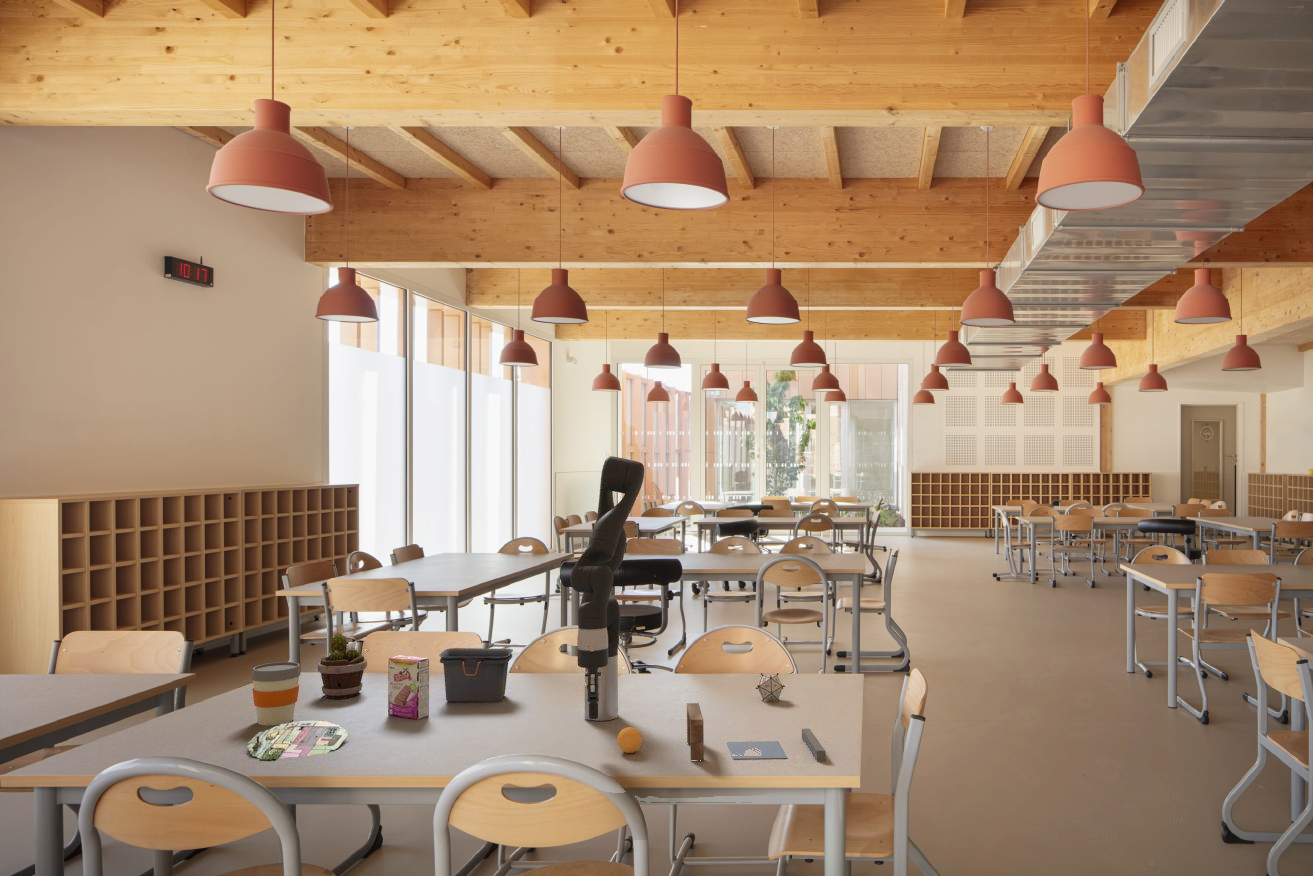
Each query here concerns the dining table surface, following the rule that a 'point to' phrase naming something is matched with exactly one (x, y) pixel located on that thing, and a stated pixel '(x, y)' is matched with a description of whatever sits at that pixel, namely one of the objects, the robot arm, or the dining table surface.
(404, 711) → the candy bar box
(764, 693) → the game die
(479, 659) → the storage bin
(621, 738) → the ball
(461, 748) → the dining table surface
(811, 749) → the stopper
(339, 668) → the flowerpot
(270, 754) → the city model
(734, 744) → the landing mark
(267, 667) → the reusable coffee cup
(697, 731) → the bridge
